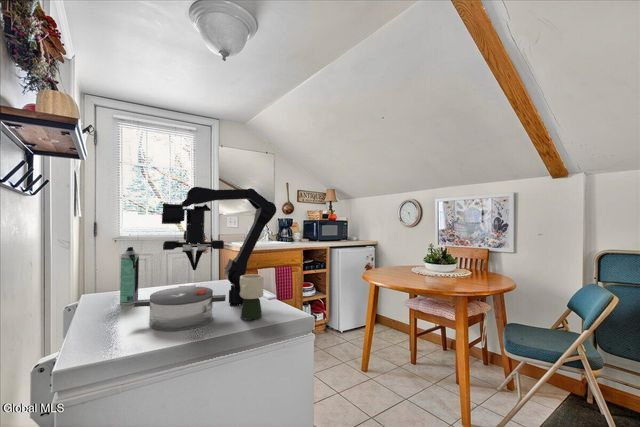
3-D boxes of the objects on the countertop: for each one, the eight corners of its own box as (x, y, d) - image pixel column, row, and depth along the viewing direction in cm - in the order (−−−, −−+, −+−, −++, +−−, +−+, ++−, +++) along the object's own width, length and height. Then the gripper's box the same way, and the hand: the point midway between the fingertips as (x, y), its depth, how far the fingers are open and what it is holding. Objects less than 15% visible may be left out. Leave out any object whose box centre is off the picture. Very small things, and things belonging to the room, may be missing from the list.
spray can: (141, 301, 109) (142, 246, 110) (127, 305, 104) (128, 248, 105) (130, 300, 111) (131, 246, 112) (116, 304, 106) (117, 247, 106)
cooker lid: (214, 287, 102) (214, 279, 102) (210, 302, 84) (211, 293, 84) (158, 290, 97) (159, 282, 98) (142, 307, 79) (142, 297, 79)
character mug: (250, 312, 99) (250, 272, 99) (269, 314, 97) (270, 273, 97) (231, 323, 88) (231, 278, 89) (252, 325, 86) (253, 280, 87)
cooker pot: (225, 309, 101) (225, 288, 101) (224, 326, 85) (225, 302, 85) (143, 315, 94) (144, 292, 94) (125, 335, 78) (126, 308, 78)
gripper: (224, 223, 113) (223, 265, 112) (169, 223, 107) (169, 267, 107) (224, 224, 102) (223, 270, 102) (163, 224, 97) (162, 272, 96)
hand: (194, 270), depth 102 cm, fingers closed
